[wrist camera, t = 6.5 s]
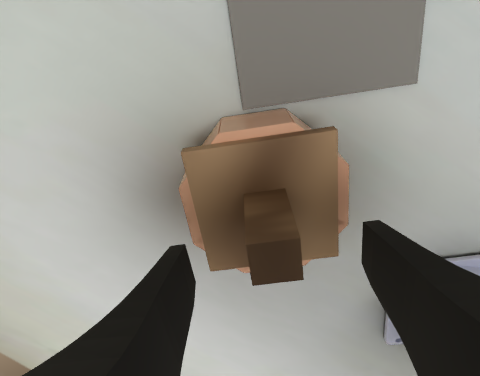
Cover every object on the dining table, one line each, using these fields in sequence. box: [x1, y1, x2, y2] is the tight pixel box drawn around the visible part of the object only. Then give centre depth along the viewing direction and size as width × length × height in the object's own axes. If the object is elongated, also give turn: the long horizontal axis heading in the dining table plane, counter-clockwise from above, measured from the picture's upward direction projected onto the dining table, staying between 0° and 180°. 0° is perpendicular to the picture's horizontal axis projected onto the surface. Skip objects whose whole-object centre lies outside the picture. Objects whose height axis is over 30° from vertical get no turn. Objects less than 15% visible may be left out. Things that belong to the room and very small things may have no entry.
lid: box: [181, 126, 338, 286], centre depth 14 cm, size 7×7×5 cm
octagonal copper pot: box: [179, 108, 349, 273], centre depth 17 cm, size 8×8×3 cm
